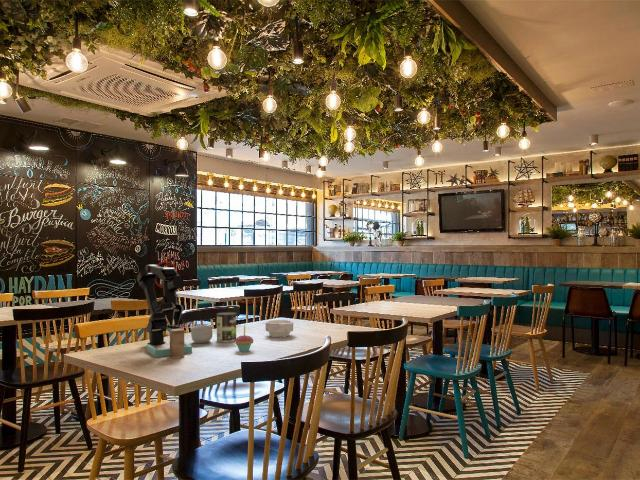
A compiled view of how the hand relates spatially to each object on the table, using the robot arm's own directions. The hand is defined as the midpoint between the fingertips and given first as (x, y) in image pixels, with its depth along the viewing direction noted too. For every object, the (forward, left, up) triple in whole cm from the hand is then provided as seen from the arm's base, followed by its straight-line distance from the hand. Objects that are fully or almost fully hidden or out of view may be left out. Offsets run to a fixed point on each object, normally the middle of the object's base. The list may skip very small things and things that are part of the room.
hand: (173, 325), depth 226 cm
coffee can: (+9, +29, -12) cm, 32 cm away
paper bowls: (+28, +51, -12) cm, 59 cm away
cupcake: (+32, +12, -12) cm, 36 cm away
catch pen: (+1, -5, -11) cm, 13 cm away
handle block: (+12, -11, -12) cm, 20 cm away
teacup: (0, +21, -12) cm, 24 cm away
